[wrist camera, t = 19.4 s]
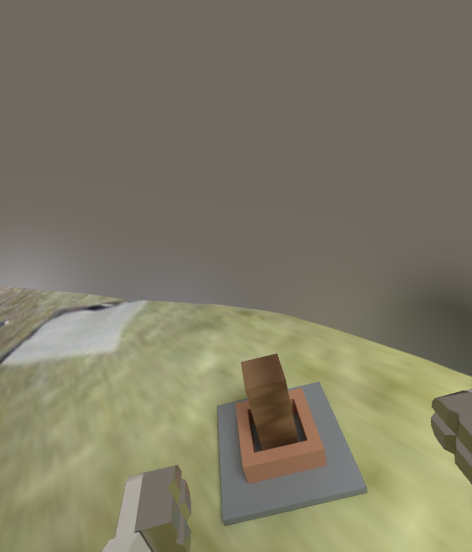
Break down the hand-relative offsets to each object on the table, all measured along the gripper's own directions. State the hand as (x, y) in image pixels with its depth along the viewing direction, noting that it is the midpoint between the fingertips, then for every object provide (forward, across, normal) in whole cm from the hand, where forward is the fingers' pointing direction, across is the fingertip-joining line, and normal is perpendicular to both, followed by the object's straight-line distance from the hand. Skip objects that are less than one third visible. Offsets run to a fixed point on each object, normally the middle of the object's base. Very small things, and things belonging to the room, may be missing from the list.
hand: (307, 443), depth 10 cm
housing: (+22, 0, +30) cm, 37 cm away
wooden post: (+22, 0, +29) cm, 36 cm away
